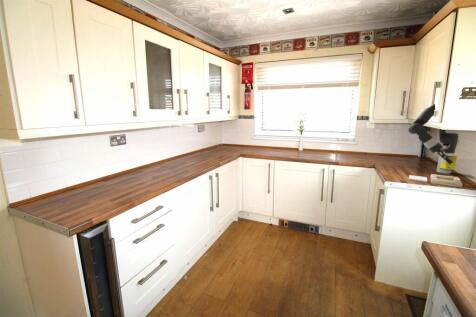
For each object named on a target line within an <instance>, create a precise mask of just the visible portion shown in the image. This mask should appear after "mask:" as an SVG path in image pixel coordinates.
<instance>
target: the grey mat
mask: <svg viewBox="0 0 476 317" xmlns="http://www.w3.org/2000/svg"><path fill="white" fill-rule="evenodd" d="M408 181H414V182H421V183H422V182H423V183H428V177H426V176H418V175H413V174H412V175H410V174H409V175H408Z"/></svg>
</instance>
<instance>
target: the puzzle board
mask: <svg viewBox="0 0 476 317" xmlns="http://www.w3.org/2000/svg"><path fill="white" fill-rule="evenodd" d="M429 177H430V181H431V184H433V185H443V186H449V187H457V188H462V187H463V182H462V181H461V179H460V178H459V177H458V176H450V175H441V174H440V175H439V174H434V173H433V174H432V173H431V174H430V176H429Z"/></svg>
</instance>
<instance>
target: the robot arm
mask: <svg viewBox="0 0 476 317" xmlns="http://www.w3.org/2000/svg"><path fill="white" fill-rule="evenodd" d="M434 110H435V104H434V103H433V104H432V105H430V106H429V107H426V108H425V109H424V110H423V111H421V113H420V114H419V115H418V117H416V119H415V120H414V121H413V122H412V124H410V125H409V127H408V132H409V133H410V134H411V135H415V134H416V135H417V137H418V140H419V141H420V142H421V143H423V145H424V146H425V147H426V148H427V149H428V151H430V152H431V153H432V154H434V153H436V154H437V155H438V161H437V166H436V173H440V174H448V175H449V174H451V173H452V171H447V170H443V169H440V165H441V159H442V158H443V159H444V160H446V161H447V162H448V163H449V164H451V163H453V162H452V161H451V160H450V159H449V157H447V155H446V154H452V155H455V153H456V148H457V145H458V142H459V141H458V140H459V134H458V133H455V132H447V129H446V130H441V129H439V128H438V133H439V135H438V136H439V137H438V139H439V141H438V140H437V139H436V138H434V137H433V136H432V135H431V134H430V133H429V132H428V131H427V129H426V127H425V124H428V122H429V121H430V120H431V119H432V118H433V116H434ZM443 144H444V145H448V146H447V147H444V146H443ZM444 157H446V158H444Z"/></svg>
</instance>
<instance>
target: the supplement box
mask: <svg viewBox="0 0 476 317" xmlns="http://www.w3.org/2000/svg"><path fill="white" fill-rule="evenodd" d="M446 155H447V157H449V159H450V160H451V161H452V162H453V163H451V164H449V163H448V162H447V161H446V160H444V159H443V158H442V159H441V165H440V169H443V170H447V171H451V172H452V171H455V169H456V162H457V158H458V155H456V154H454V155H452V154H446ZM444 158H446V157H444Z"/></svg>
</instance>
